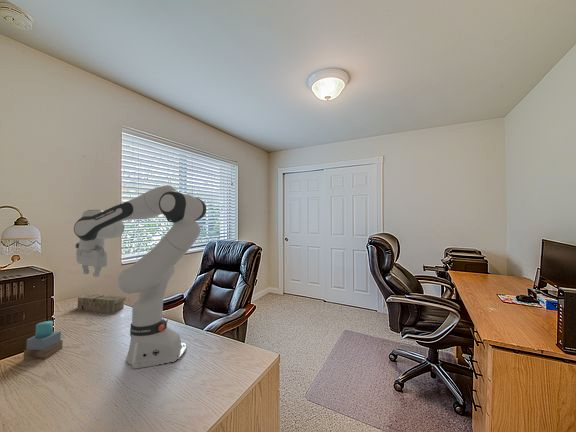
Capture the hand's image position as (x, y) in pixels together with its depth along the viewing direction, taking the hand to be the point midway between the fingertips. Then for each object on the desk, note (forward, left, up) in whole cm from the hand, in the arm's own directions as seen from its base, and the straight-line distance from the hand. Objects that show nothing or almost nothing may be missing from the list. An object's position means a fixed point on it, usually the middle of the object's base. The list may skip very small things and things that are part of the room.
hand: (91, 275), depth 108 cm
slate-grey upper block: (+12, +7, -27) cm, 31 cm away
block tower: (+23, -45, -32) cm, 60 cm away
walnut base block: (+13, +7, -31) cm, 35 cm away
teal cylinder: (+13, +7, -23) cm, 28 cm away
